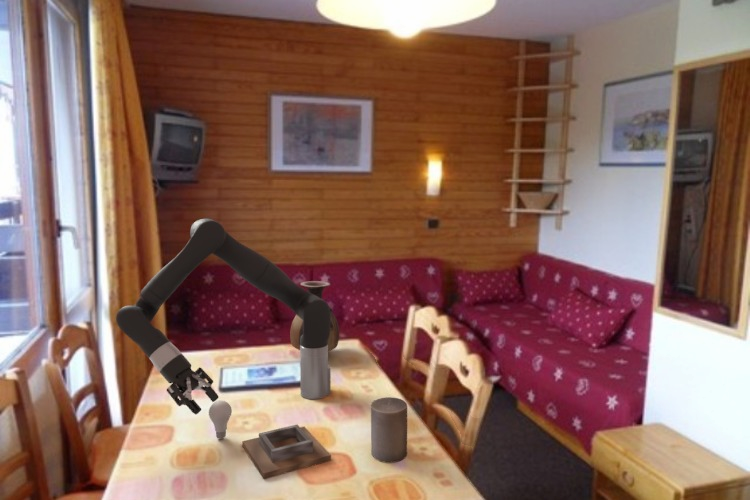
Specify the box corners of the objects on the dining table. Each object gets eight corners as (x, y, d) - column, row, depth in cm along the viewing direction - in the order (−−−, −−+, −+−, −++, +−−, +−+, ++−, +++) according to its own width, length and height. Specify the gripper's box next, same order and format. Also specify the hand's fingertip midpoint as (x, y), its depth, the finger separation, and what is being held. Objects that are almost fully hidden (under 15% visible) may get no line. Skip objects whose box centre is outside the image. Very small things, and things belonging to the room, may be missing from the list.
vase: (315, 369, 204) (315, 291, 200) (277, 359, 215) (276, 285, 210) (351, 353, 223) (351, 281, 219) (314, 344, 234) (314, 276, 230)
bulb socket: (304, 431, 156) (304, 416, 156) (330, 460, 141) (330, 444, 140) (242, 446, 148) (242, 430, 147) (263, 479, 132) (263, 461, 132)
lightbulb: (226, 445, 148) (224, 407, 147) (205, 443, 149) (204, 405, 148) (236, 434, 154) (235, 397, 152) (216, 432, 155) (215, 395, 154)
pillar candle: (411, 447, 148) (411, 395, 146) (401, 465, 139) (401, 409, 137) (377, 442, 151) (377, 390, 149) (365, 459, 142) (365, 404, 140)
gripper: (161, 362, 145) (201, 408, 144) (193, 346, 159) (229, 388, 157) (145, 379, 147) (184, 425, 146) (178, 361, 161) (213, 403, 159)
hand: (207, 405), depth 151 cm, fingers open, 8 cm apart
